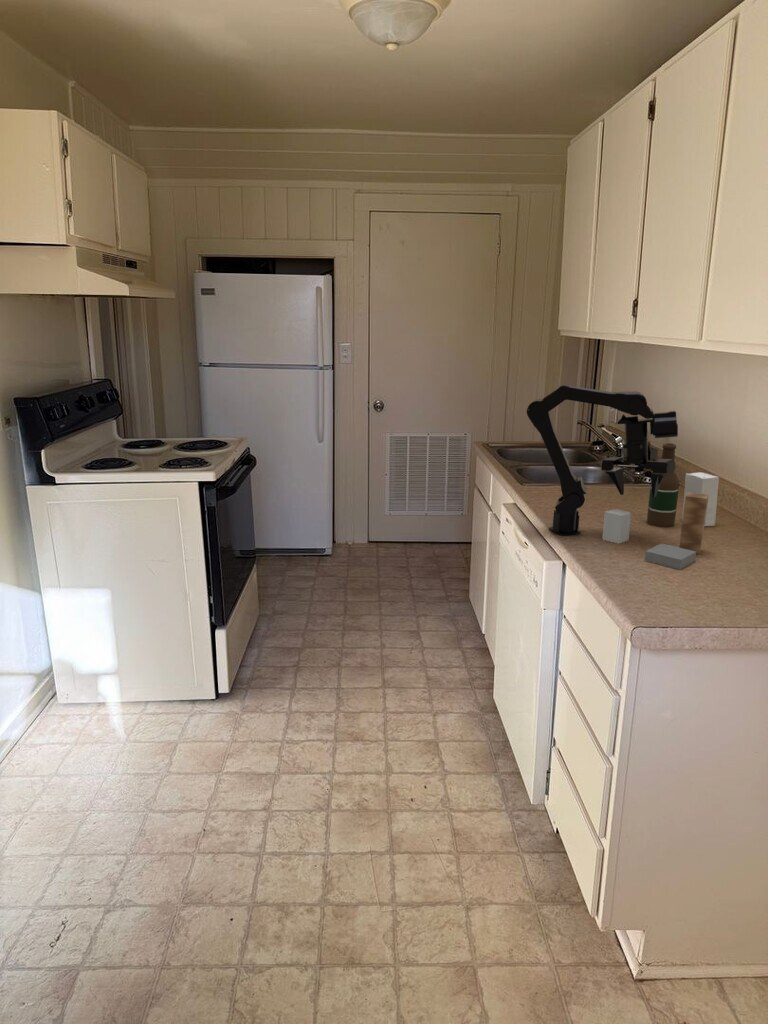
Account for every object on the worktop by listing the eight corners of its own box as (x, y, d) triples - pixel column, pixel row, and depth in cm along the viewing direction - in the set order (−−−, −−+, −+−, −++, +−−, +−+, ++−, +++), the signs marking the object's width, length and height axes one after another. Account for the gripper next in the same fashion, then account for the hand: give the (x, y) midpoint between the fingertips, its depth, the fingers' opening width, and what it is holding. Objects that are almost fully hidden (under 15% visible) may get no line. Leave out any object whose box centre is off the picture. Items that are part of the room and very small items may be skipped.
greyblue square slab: (644, 562, 178) (645, 551, 177) (660, 554, 184) (661, 543, 183) (679, 571, 172) (681, 559, 171) (694, 562, 178) (696, 551, 177)
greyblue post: (618, 544, 191) (621, 515, 189) (602, 539, 195) (604, 511, 193) (628, 540, 194) (631, 512, 192) (612, 536, 198) (615, 508, 196)
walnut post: (678, 551, 185) (685, 496, 181) (681, 546, 189) (688, 492, 185) (699, 554, 183) (706, 498, 179) (701, 549, 187) (708, 494, 183)
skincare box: (715, 526, 208) (721, 477, 204) (696, 527, 207) (703, 478, 203) (697, 518, 216) (703, 471, 212) (679, 519, 215) (685, 471, 211)
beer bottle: (640, 521, 212) (649, 442, 206) (661, 519, 215) (670, 441, 209) (659, 528, 205) (668, 447, 199) (680, 525, 208) (690, 445, 202)
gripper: (683, 434, 188) (684, 491, 192) (618, 434, 201) (620, 487, 205) (665, 441, 181) (666, 501, 184) (598, 440, 194) (600, 496, 197)
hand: (637, 495), depth 193 cm, fingers open, 9 cm apart
